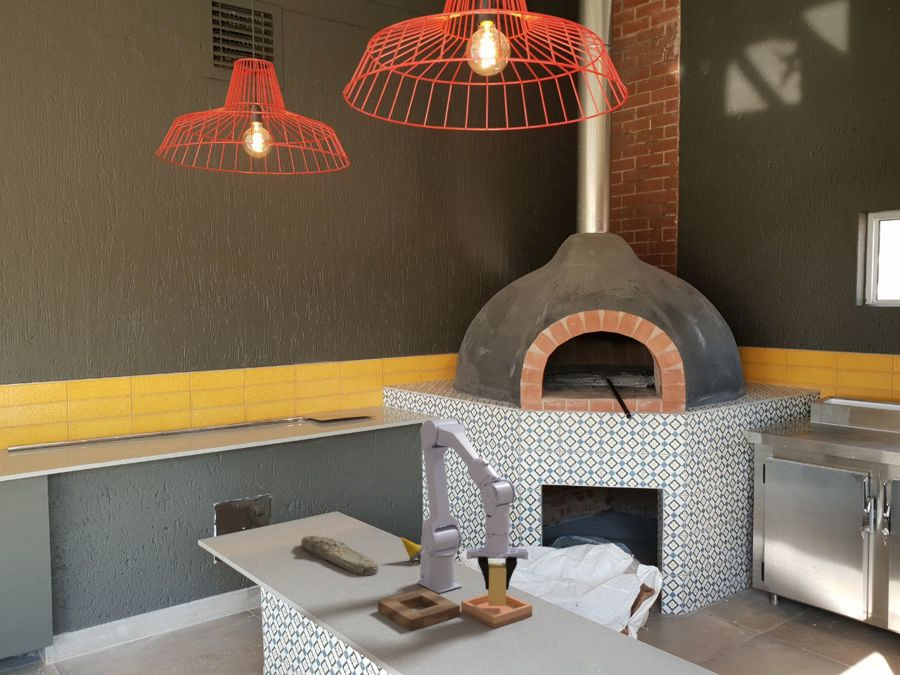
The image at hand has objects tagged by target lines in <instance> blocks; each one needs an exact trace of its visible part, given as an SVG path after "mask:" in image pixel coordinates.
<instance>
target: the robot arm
mask: <svg viewBox="0 0 900 675" xmlns="http://www.w3.org/2000/svg"><path fill="white" fill-rule="evenodd" d="M419 431H420V441H421V451H422V452H423V458H424V468H425V469H424V470H425V476H426V477H425V479H426V488H427V499H428V509H429V516H428V518H426V520H425V521H424V522H423V523H422V525H421V531H422V532H421V537H420V544H421V547H423V549H424V550H423V551H422V553H421V554H422V556H421V559H420V560H419V562H420V563H419V564H420V568H419V569H420V570H419V573H420V574H419V578H420V579H419V580H417V584H419V585H421V586H422V587H424V588H426V589H428V590H430V591H432V592H434V593H436V594H441V593H444V592H445V593H446V592H448V591H451V590H452V591H453V590H456V589H459V588H462V586H463V585H462V584H461V583H458V582H456V553H458V551H459V550H458V548H460V547H461V545H462V543H463V533H462V531H461V529H460V528H461V527H460V525H459V520H458V519H457V518H456V517H454V516H453V515H452V514H451V510H450V500H449V491H448V490H449V489H448V481H447V471H446V463H445V462H446V461H445V454H446V452H447V451H448V450H449V449H450V448H452V450H454V452H455V454H457V456H459V458H460V459H461V460H462V461H463V462H464V464H466V466H467V474H468V475H469V477H470V478H471V479H472V481H473V483H474V484H475V485H476V488H478V489H479V491H480V500H481V503H482V505H483V513H484V514H485V531H484V532H485V534H484V535H485V538H484V540H485V541H484V542H485V544H484V547H476V548H466V560H472V559H477V564H478V566H479V568H480V571H481V574H482V576H483V579H484V584H485V590H486V591H488V590H489V580H488V570H489V564H488V563H489V559H499V560H501V559H504V560H505V562H504V563H505V565H506V591H508V590H509V587H510V582H511V580H512V576H513V573H514V572H515V571H516V570H515V569H516V568H517V565H518V559H521V560H522V559H523V560H527V561H528V560H529V551H528V549H527V548H517V547H516V548H515V547H510V520H511V519H510V515H511V514H510V512H511V511H510V510H511V508H510V507H511V504H512V503H513V502H514V501H515V499H516V491H515V488H514V486H513V484H512V481H510V480H508V479H505V478H503V477H501V476H500V475H499V474H498V472H497V471H496V470H495V469H494V468H493V466H492V465H491V463H490V462H489V460H488V459H486V458H484V457H479V455H478V453H477V452H476V450H475V449H474V447H473V446H472V444H471V442H470V441H469V439H468V437H466V428H465V425H463V423H462V421H461V419H459V418H458V417H451V418H442V419H441V418H440V419H427V420H425V421H424V422H423V424H422V426H421V427H420V429H419Z"/></svg>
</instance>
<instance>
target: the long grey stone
mask: <svg viewBox="0 0 900 675" xmlns="http://www.w3.org/2000/svg"><path fill="white" fill-rule="evenodd" d="M300 544H301V545H300V546H301V548H304V549H305V550H306V551H307V552H308V553H310V554H311V555H312V557H317V558H320V559H322V560H324V561H329V562H330V563H332V564H333V565H336V566H340V567H341V568H343V569H344V570H347V571H348V572H350V573H353V574H358V575H360V576H361V575H362V576H372V575H376V574H377V573H378V572H379V568H378V564H377V562H376V561H375V560H374V559H372V558H371V557H367V556H366V555H364V554H362V553H361V552H357V551H356V550H353V548H350V547H348V545H347V544H345V542H342V541H339V540H336V539H333V538H328V537H322V536H318V535H307V536H304V537H303V538H302V539H301V543H300Z"/></svg>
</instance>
